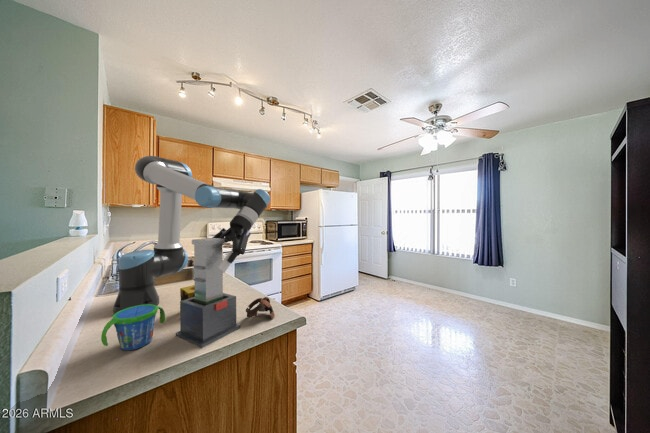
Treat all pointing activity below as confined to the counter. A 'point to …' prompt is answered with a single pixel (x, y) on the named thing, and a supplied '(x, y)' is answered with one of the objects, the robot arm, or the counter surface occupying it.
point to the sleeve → (207, 320)
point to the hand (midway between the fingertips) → (207, 268)
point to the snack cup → (134, 326)
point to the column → (208, 270)
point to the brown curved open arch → (260, 307)
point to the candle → (187, 292)
